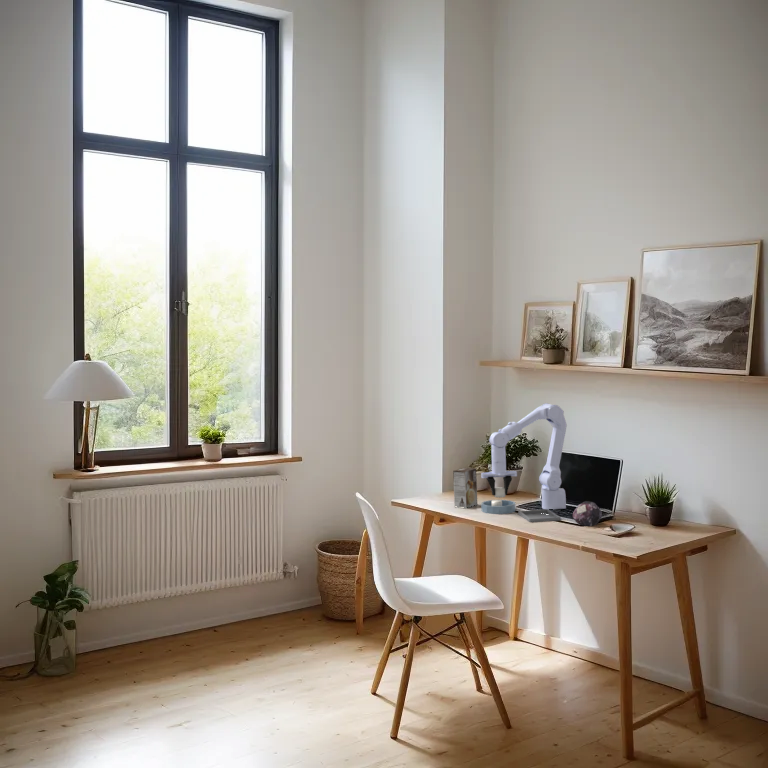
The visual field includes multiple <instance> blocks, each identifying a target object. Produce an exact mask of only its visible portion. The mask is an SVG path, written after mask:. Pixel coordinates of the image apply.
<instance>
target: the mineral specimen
mask: <svg viewBox="0 0 768 768" xmlns="http://www.w3.org/2000/svg"><path fill="white" fill-rule="evenodd" d="M602 516H603V512H602V510H601V509H600V507H599V506H598V505H597V504H596V503H595V502H593V501H587V500H585V501H583V502H582V503H580V504H578V505H577V506H576V508H575V509H574V511H573V513H572V518H573V520H574V521H575V522H576V523H577V524H578V525H579V526H584V527H594V526H596V525H597V524H598V523H599V522H600V521H601V519H602Z"/></svg>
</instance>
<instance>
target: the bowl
mask: <svg viewBox="0 0 768 768" xmlns="http://www.w3.org/2000/svg"><path fill="white" fill-rule="evenodd" d="M493 500H494V499H491V500H485V501H482V502H481V504H480V506H481V512H482V513H484V514H488V515H489V514H491V515H503V514H505V515H507V514H512V513H515V512H516V511H517V509H516V508H517V507H516V505H517V503H516V502H515V501H514V500H507V499H500V500H501V501H502V506H492V504H491V501H493Z"/></svg>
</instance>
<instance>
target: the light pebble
mask: <svg viewBox="0 0 768 768" xmlns="http://www.w3.org/2000/svg"><path fill="white" fill-rule="evenodd" d="M492 500H493V501H491V504H492V506H502V501H501V500H502V499H492Z"/></svg>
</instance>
